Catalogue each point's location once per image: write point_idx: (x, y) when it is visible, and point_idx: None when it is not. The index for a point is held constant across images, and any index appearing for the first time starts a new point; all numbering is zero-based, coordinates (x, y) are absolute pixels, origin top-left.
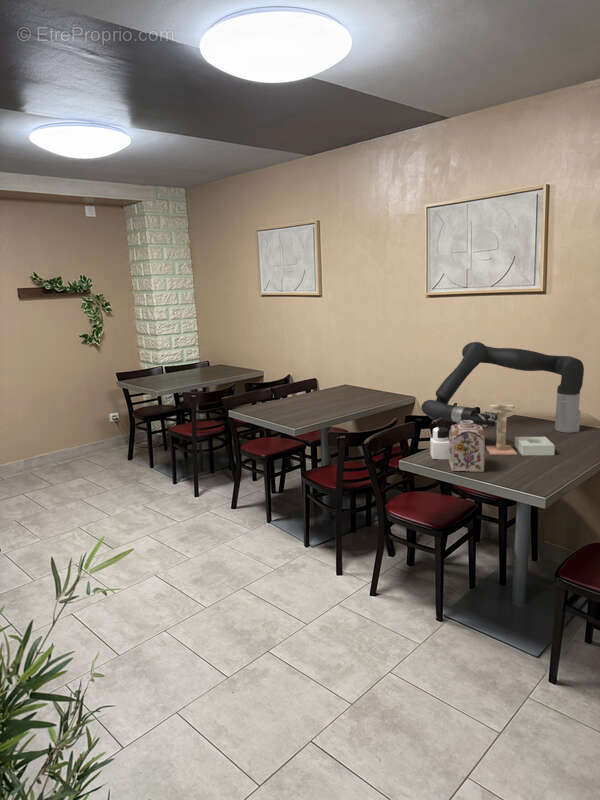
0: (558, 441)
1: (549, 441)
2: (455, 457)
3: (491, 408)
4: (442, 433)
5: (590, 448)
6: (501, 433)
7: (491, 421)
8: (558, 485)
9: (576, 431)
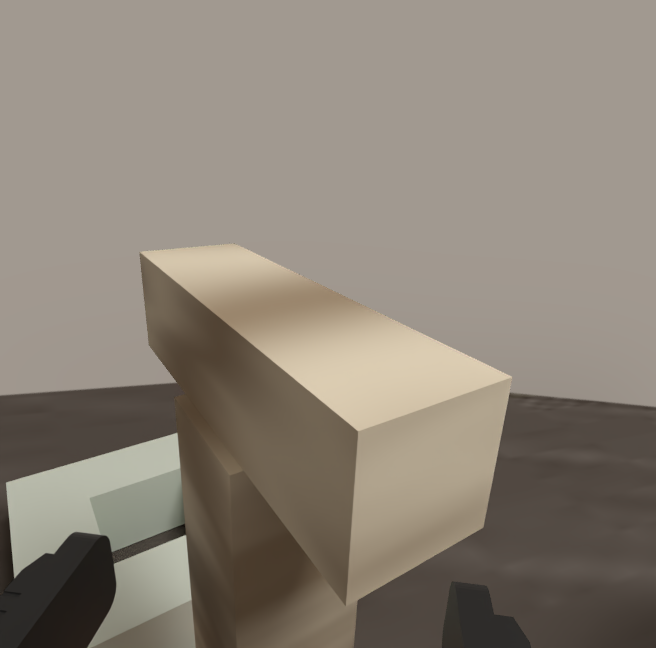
0: None
1: (136, 448)
2: None
3: (491, 430)
4: None
5: (57, 397)
6: None
7: (498, 644)
8: (591, 406)
9: None
